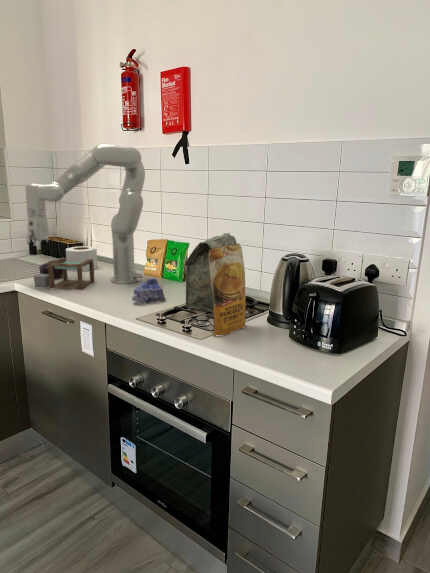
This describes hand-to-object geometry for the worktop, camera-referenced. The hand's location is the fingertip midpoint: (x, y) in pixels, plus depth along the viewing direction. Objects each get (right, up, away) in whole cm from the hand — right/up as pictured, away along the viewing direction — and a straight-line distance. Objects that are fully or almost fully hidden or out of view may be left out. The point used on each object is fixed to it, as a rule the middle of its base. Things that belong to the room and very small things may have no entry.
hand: (39, 252), depth 191 cm
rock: (-1, -11, +20) cm, 22 cm away
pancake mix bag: (+81, -29, -46) cm, 97 cm away
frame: (+13, -14, +6) cm, 20 cm away
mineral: (+50, -21, -15) cm, 56 cm away
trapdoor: (+13, -6, +4) cm, 15 cm away
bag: (+76, -22, -18) cm, 81 cm away
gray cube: (0, -15, +4) cm, 15 cm away
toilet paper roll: (+7, -5, +40) cm, 41 cm away
